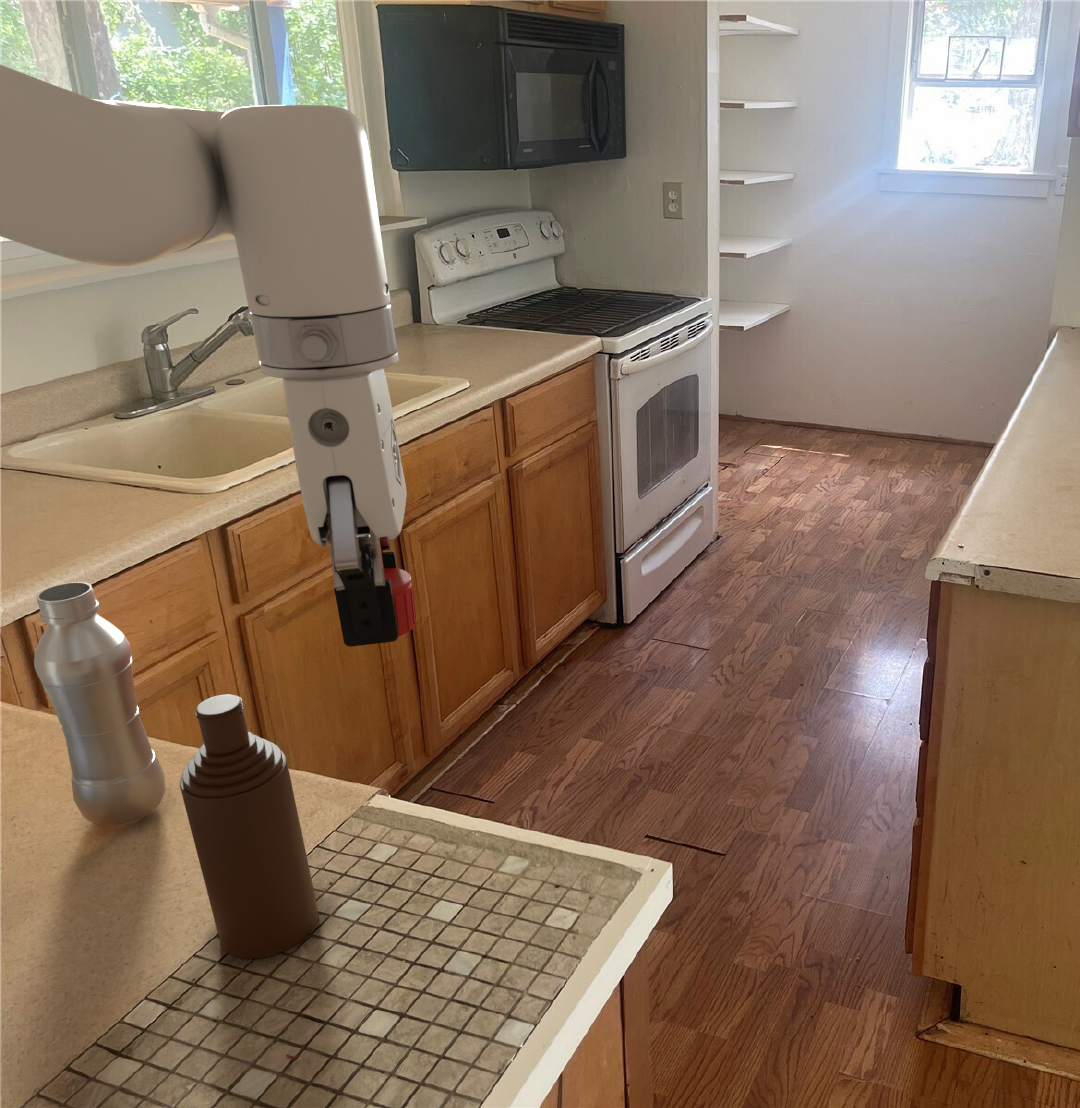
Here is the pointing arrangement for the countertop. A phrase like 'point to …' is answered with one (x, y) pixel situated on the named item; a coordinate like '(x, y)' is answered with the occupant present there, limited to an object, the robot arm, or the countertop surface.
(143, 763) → the silver water bottle
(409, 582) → the cap
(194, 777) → the sauce bottle
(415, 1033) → the countertop surface
